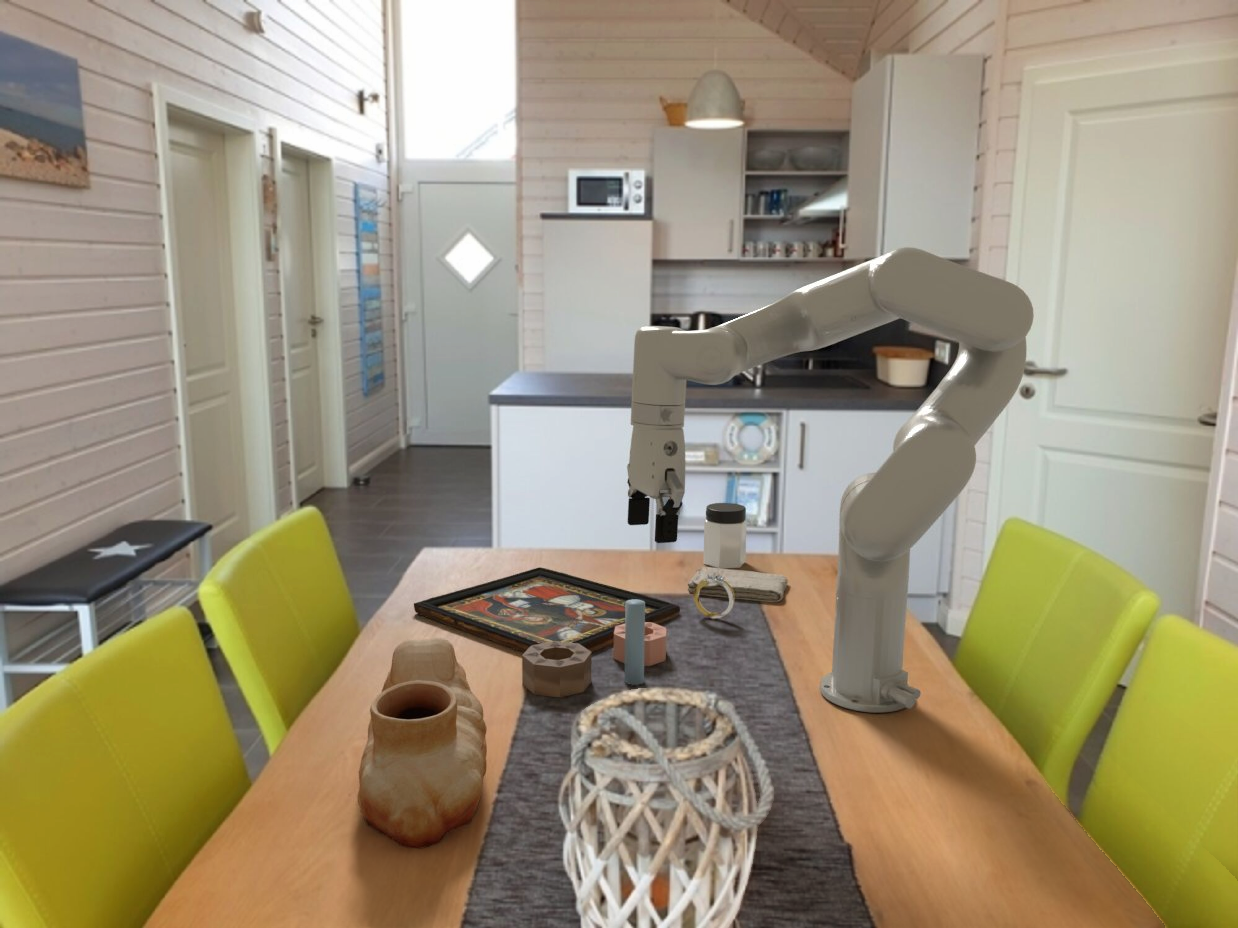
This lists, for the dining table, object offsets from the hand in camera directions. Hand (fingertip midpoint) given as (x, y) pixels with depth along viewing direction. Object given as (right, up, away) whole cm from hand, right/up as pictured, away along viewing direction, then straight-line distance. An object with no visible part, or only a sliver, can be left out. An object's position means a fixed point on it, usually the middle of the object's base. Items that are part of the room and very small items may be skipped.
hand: (651, 532), depth 137 cm
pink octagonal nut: (-1, -20, +11) cm, 23 cm away
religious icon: (-17, -17, +29) cm, 38 cm away
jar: (+17, -11, +61) cm, 64 cm away
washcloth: (+18, -15, +44) cm, 50 cm away
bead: (-14, -22, 0) cm, 26 cm away
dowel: (-2, -22, +1) cm, 22 cm away
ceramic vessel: (-27, -27, -28) cm, 47 cm away
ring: (+12, -17, +28) cm, 35 cm away
